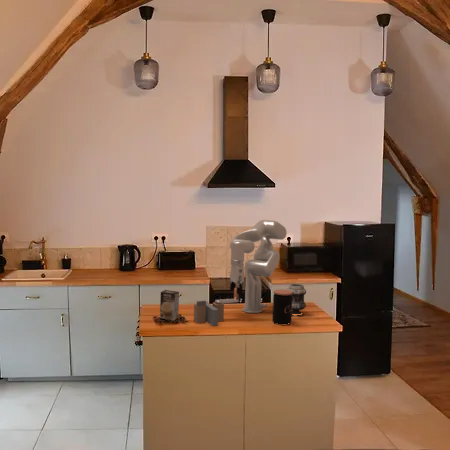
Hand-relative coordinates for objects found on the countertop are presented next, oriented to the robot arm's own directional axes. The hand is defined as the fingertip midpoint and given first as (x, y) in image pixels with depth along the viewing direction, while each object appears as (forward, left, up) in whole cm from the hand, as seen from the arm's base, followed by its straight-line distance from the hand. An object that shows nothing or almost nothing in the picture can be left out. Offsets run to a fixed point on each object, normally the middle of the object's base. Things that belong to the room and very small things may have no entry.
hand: (236, 292), depth 292 cm
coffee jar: (-22, +15, -16) cm, 31 cm away
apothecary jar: (-39, +1, -16) cm, 42 cm away
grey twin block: (+16, 0, -16) cm, 22 cm away
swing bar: (+6, 0, -6) cm, 8 cm away
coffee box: (+37, -9, -16) cm, 41 cm away
